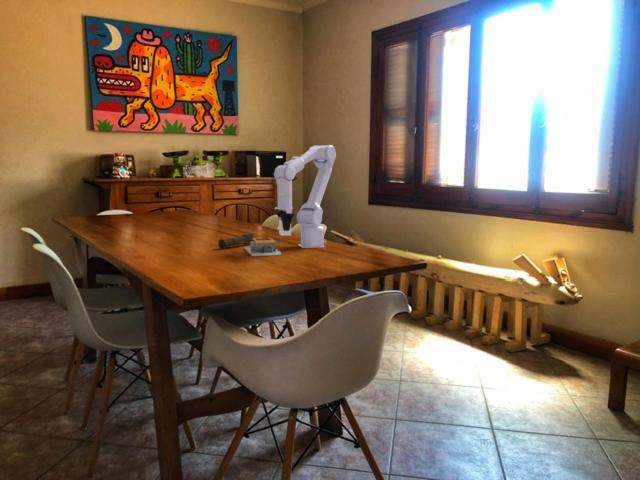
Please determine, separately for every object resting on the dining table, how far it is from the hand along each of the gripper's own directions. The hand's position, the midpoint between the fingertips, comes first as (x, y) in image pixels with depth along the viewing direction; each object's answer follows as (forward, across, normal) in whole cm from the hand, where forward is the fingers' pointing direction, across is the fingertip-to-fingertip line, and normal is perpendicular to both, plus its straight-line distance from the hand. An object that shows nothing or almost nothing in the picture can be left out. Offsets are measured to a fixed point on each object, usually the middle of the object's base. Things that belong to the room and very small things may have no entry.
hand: (285, 230), depth 206 cm
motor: (+8, 0, -9) cm, 12 cm away
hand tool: (+12, -14, -22) cm, 28 cm away
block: (+2, 0, 0) cm, 2 cm away
